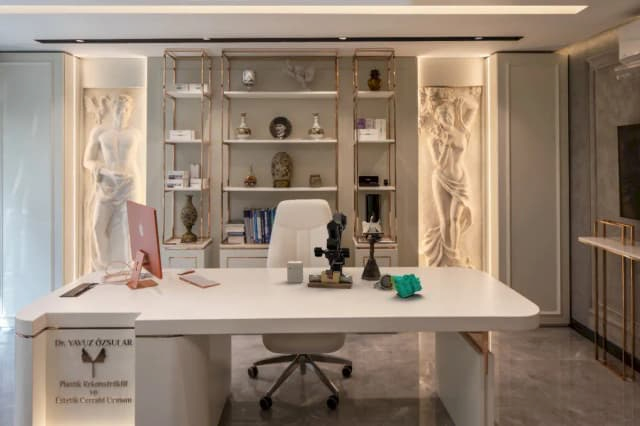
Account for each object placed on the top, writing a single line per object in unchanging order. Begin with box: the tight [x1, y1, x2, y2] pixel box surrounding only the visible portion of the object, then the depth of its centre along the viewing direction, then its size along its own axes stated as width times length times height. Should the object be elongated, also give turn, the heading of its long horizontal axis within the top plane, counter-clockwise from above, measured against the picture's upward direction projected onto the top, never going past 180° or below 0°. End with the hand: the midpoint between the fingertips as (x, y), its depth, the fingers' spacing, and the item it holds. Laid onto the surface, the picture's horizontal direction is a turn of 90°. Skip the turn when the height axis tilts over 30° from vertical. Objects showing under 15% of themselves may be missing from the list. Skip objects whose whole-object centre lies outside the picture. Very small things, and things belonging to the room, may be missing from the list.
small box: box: [286, 260, 304, 283], centre depth 261 cm, size 8×6×10 cm
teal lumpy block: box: [391, 273, 423, 298], centre depth 231 cm, size 15×12×13 cm
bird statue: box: [361, 215, 385, 281], centre depth 267 cm, size 17×13×35 cm
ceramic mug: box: [373, 272, 394, 290], centre depth 248 cm, size 10×8×7 cm
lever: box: [325, 269, 333, 280], centre depth 248 cm, size 2×3×11 cm
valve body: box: [308, 270, 353, 284], centre depth 252 cm, size 4×22×6 cm, turn 81°
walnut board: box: [307, 279, 354, 290], centre depth 253 cm, size 12×22×2 cm, turn 81°
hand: (330, 265), depth 252 cm, fingers closed
